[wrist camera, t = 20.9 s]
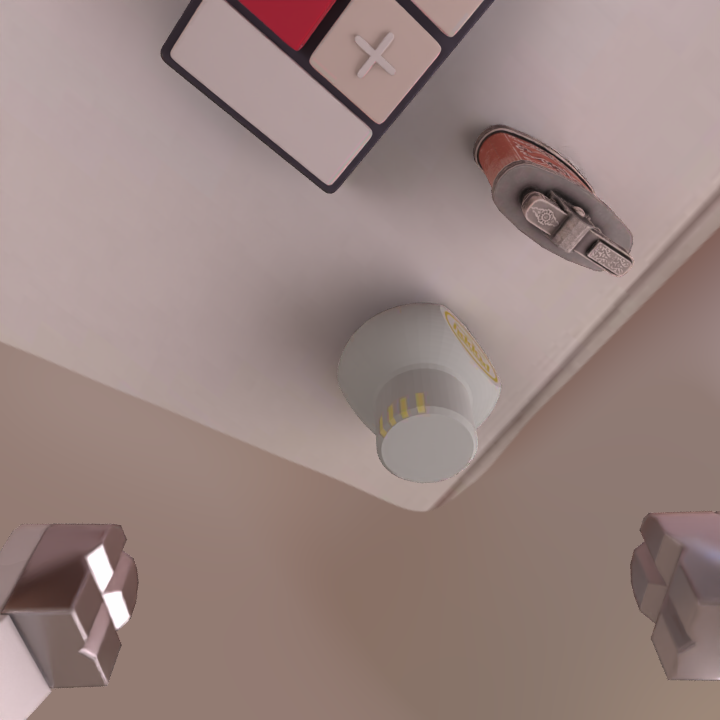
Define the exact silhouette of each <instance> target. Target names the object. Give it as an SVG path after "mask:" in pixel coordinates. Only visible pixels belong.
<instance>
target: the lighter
mask: <svg viewBox="0 0 720 720" xmlns="http://www.w3.org/2000/svg"><path fill="white" fill-rule="evenodd" d="M473 154H474V159H475V162H476V164H477V165H478V167H479V168H480V170H481V171H482V172H483V173H484V174H485V175H486V176H487V179H488V181H489V183H490V185H491V187H492V190H491V191H492V198H493V201H494V203H495V205H496V206H497V208H498V209H499V211H500V212H501V213H502V214H503V215H504V216H505V217H506V218H507V219H508V220H510V221H511V222H512V223H513V224H514V225H515V226H516V227H517V228H518V229H519V230H520V231H521V232H523V233H524V234H525V235H527V236H528V237H529V238H531V239H532V240H533V241H535V242H536V243H537V244H539V245H540V246H541V247H543V248H545V249H547V250H548V251H550V252H552V253H554V254H556V255H558V256H560V257H562V258H564V259H566V260H567V261H570V262H573V263H575V264H578V265H581V266H583V267H586V268H589V269H592V270H595V271H607V272H608V273H610V274H611V275H613V276H615V277H621V276H623V275H625V274H626V273H627V272H628V271H629V270H630V269H631V268H632V266H633V264H634V260H633V258H632V257H631V256H630V254H629V253H630V251H631V248H632V245H633V236H632V234H631V232H630V230H629V229H628V228H627V227H626V226H625V224H624V223H623V222H622V221H621V220H620V219H619V218H618V217H617V216H616V215H615V214H614V212H613V211H612V210H611V209H610V208H609V207H608V206H607V205H606V204H605V203H604V202H602V201H601V200H600V199H599V198H597V197H596V196H595V192H594V190H593V188H592V186H591V185H590V184H589V183H588V182H587V181H586V180H585V179H584V178H583V176H582V175H581V174H580V173H579V172H578V171H577V170H576V169H575V168H574V167H573V166H572V164H570V163H569V162H568V161H567V160H565V159H564V158H563V157H562V156H561V155H559V154H558V153H557V152H556V151H554V150H553V149H552V148H550V147H549V146H547V145H545V144H543V143H542V142H540V141H538V140H536V139H535V138H533V137H531V136H529V135H527V134H525V133H522V132H520V131H517V130H515V129H512V128H510V127H507V126H505V125H494V126H491V127H489V128H487V129H486V130H484V131H483V132H482V133H481V134H480V135H479V136H478V138H477V140H476V142H475V144H474V150H473Z"/></svg>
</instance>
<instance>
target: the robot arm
mask: <svg viewBox="0 0 720 720" xmlns="http://www.w3.org/2000/svg"><path fill="white" fill-rule="evenodd" d="M640 532H641V533H642V536H643V539H644V541H645V542H643V543H642V544H641V545H640V546H638V547H637V548H636V549H635V550H634V552H633V556H632V560H631V564H630V569H631V584H632V588H633V593H634V597H635V599H636V602H637V604H638V607H639V610H640V611H641V612H642V613H643V614H644V615H645V616H647V617H648V618H649V619H650V620H651V621H652V622H654V623H655V627H654V630H653V633H652V636H651V640H652V642H653V645H654V647H655V650H656V652H657V654H658V656H659V659H660V662H661V664H662V667H663V669H664V671H665V674H666V676H667V679H668V680H702V681H720V511H716V512H712V511H699V512H666V513H648V514H647V515H646V516H645V517H644V519H643V521H642V525H641V528H640ZM126 540H127V539H126V536H125V534H124V532H123V529H122V527H121V525H117V524H21V525H20V526H19V527H18V528H17V529H15V530H14V531H13V532H12V533H11V535H10V536H9V538H8V540H7V541H6V543H5V545H4V546H3V548H2V550H1V551H0V720H26V719H27V718H28V716H29V715H30V714H31V713H32V712H33V711H34V710H35V709H36V708H37V707H38V706H39V705H40V703H41V702H42V701H43V700H44V699H45V698H46V697H47V696H48V695H49V694H50V693H51V689H50V688H73V687H96V686H107V684H108V682H109V679H110V676H111V673H112V671H113V668H114V665H115V662H116V659H117V656H118V653H119V651H120V648H121V642H120V640H119V637H118V635H117V633H116V631H117V630H119V629H120V628H121V627H122V626H123V625H124V624H125V623H126V622H127V621H128V620H130V619H131V615H132V613H133V610H134V607H135V604H136V599H137V590H138V573H137V567H136V564H135V561H134V559H133V558H132V557H131V556H129V555H128V554H127V553H125V552H124V551H123V548H124V545H125V543H126Z"/></svg>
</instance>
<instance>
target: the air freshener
mask: <svg viewBox="0 0 720 720" xmlns="http://www.w3.org/2000/svg"><path fill="white" fill-rule="evenodd" d="M337 380H338V384H339V387H340V389H341V391H342V393H343V395H344V397H345V398H346V400H347V402H348V403H349V405H350V406H351V408H352V409H353V411H354V412H355V413H356V415H357V416H358V417H359V418H360V419H361V421H362V422H363V423H364V424H365V425H366V426H367V427H368V428H369V429H370V430H371V431H372V432H373V433H374V434H375V435H376V446H377V454H378V457H379V459H380V461H381V463H382V464H383V465H384V467H385V468H386V469H387V470H388V471H390V472H391V473H392V474H394V475H395V476H397V477H399V478H402V479H404V480H407V481H411V482H417V483H434V482H439V481H443V480H446V479H449V478H451V477H453V476H455V475H457V474H459V472H460V471H462V470H464V469H465V468H466V467H467V466H468V465H469V464H470V463H469V461H470V460H472V459H474V456H475V454H476V452H477V447H478V438H477V433H476V429H477V428H478V427H479V426H480V425H481V424H482V423H483V422H484V421H485V420H486V419H487V418H488V416H489V415H490V413H491V412H492V411H493V409H494V407H495V405H496V403H497V401H498V399H499V396H500V392H501V388H502V384H501V380H500V378H499V376H498V374H497V372H496V370H495V368H494V367H493V365H492V363H491V362H490V360H489V358H488V357H487V355H486V354H485V352H484V351H483V349H482V348H481V347H480V345H479V344H478V342H477V341H476V340H475V338H474V337H473V336H472V335H471V333H470V332H469V331H468V329H467V328H466V327H465V326H464V325H463V324H462V322H461V321H460V320H459V319H458V318H457V317H456V316H455V315H454V314H453V313H452V312H451V311H450V310H449V309H448V308H446V307H445V306H443V305H439V304H432V303H412V304H405V305H400V306H397V307H393V308H390V309H387V310H385V311H383V312H381V313H379V314H377V315H375V316H374V317H372V318H371V319H369V320H368V321H366V322H365V323H364V324H363V325H362V326H361V327H360V328H359V329H358V330H356V331H355V333H354V334H353V335H352V337H351V338H350V339H349V341H348V342H347V344H346V346H345V348H344V350H343V352H342V354H341V357H340V361H339V365H338V372H337Z"/></svg>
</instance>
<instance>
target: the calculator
mask: <svg viewBox="0 0 720 720" xmlns="http://www.w3.org/2000/svg"><path fill="white" fill-rule="evenodd" d="M493 2H494V0H191V1H190V3H189V5H188V6H187V8H186V10H185V11H184V13H183V14H182V16H181V18H180V19H179V21H178V22H177V24H176V26H175V27H174V29H173V30H172V32H171V34H170V35H169V37H168V38H167V40H166V42H165V43H164V45H163V47H162V49H161V57H162V59H163V61H164V62H165V63H166V64H167V65H169V66H170V67H171V68H172V69H174V70H175V71H176V72H177V73H179V74H180V75H181V76H182V77H183V78H185V79H186V80H187V81H188V82H190V83H191V84H192V85H193V86H195V87H196V88H197V89H198V90H199V91H201V92H202V93H203V94H204V95H206V96H207V97H208V98H209V99H211V100H212V101H213V102H214V103H216V104H217V105H218V106H219V107H220V108H222V109H223V110H224V111H225V112H227V113H228V114H229V115H230V116H232V117H233V118H234V119H235V120H237V121H238V122H239V123H240V124H241V125H243V126H244V127H245V128H246V129H248V130H249V131H250V132H251V133H253V134H254V135H255V136H256V137H258V138H259V139H260V140H261V141H262V142H264V143H265V144H266V145H267V146H269V147H270V148H271V149H272V150H274V151H275V152H276V153H277V154H278V155H280V156H281V157H282V158H283V159H285V160H286V161H287V162H288V163H290V164H291V165H292V166H293V167H295V168H296V169H297V170H298V171H299V172H301V173H302V174H303V175H304V176H306V177H307V178H308V179H309V180H311V181H312V182H313V183H314V184H316V185H317V186H318V187H319V188H320V189H322V190H323V191H324V192H326V193H334V192H335V191H336V190H337V189H338V188H339V187H340V186H341V185H342V184H343V182H344V181H345V180H346V179H347V177H348V176H349V175H350V174H351V173H352V171H353V170H354V169H355V168H356V167H357V165H358V164H359V163H360V162H361V161H362V159H363V158H364V157H365V156H366V155H367V153H368V152H369V151H370V150H371V149H372V147H373V146H374V145H375V144H376V143H377V141H378V140H379V139H380V138H381V137H382V135H383V134H384V133H385V132H386V130H387V129H388V128H389V127H390V126H391V124H392V123H393V122H394V121H395V120H396V118H397V117H398V116H399V115H400V114H401V112H402V111H403V110H404V109H405V108H406V106H407V105H408V104H409V103H410V102H411V100H412V99H413V98H414V97H415V96H416V94H417V93H418V92H419V91H420V90H421V88H422V87H423V86H424V85H425V83H426V82H427V81H428V80H429V79H430V77H431V76H432V75H433V74H434V73H435V71H436V70H437V69H438V68H439V67H440V65H441V64H442V63H443V62H444V61H445V59H446V58H447V57H448V56H449V55H450V53H451V52H452V51H453V50H454V49H455V47H456V46H457V45H458V44H459V43H460V41H461V40H462V39H463V38H464V36H465V35H466V34H467V33H468V32H469V30H470V29H471V28H472V27H473V26H474V24H475V23H476V22H477V21H478V20H479V18H480V17H481V16H482V15H483V14H484V12H485V11H486V10H487V9H488V8H489V6H490V5H491V4H492V3H493Z"/></svg>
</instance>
